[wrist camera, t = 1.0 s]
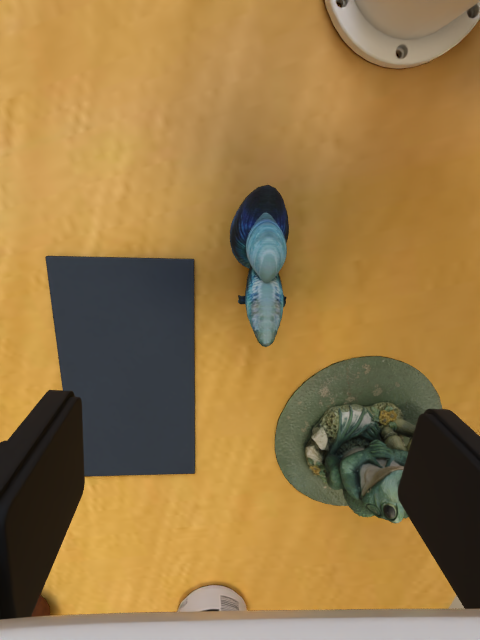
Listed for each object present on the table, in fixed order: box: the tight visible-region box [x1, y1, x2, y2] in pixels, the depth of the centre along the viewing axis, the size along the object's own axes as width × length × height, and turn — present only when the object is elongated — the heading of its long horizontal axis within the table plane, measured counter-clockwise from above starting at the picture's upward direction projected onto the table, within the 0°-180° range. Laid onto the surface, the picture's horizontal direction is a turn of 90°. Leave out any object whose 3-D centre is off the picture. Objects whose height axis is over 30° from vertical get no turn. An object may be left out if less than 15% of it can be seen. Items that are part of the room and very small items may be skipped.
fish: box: [230, 185, 289, 347], centre depth 27 cm, size 4×10×10 cm, turn 178°
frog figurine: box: [275, 356, 442, 523], centre depth 34 cm, size 18×18×12 cm
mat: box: [46, 256, 195, 476], centre depth 35 cm, size 22×12×1 cm, turn 178°
